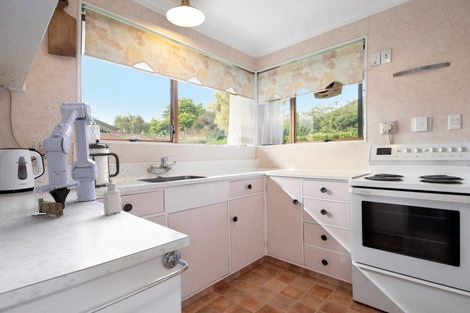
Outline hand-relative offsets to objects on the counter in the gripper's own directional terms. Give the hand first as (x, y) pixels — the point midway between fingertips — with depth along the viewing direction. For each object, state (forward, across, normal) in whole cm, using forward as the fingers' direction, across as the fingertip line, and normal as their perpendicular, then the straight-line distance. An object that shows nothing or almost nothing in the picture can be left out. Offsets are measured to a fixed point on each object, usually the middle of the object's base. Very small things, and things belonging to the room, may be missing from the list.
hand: (60, 209), depth 86 cm
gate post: (+2, 0, -9) cm, 9 cm away
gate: (+1, +1, -2) cm, 3 cm away
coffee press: (+3, -61, -42) cm, 74 cm away
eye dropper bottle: (+2, -5, +18) cm, 19 cm away
